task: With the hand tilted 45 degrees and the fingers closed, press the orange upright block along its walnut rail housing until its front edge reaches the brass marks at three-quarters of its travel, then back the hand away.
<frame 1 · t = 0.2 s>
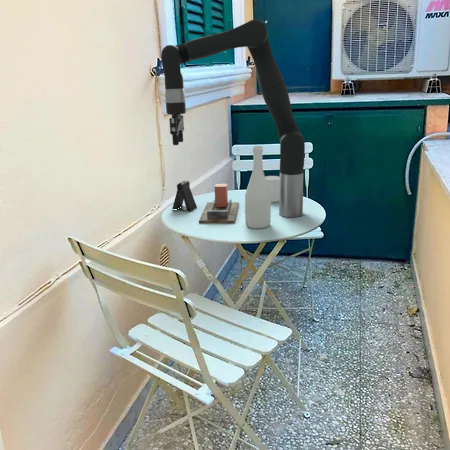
hand: (178, 143, 175), 29 cm above the table, tool pointing down, fingers open, 8 cm apart
black a-frame stand: (184, 209, 191), on the table
rail housing: (220, 213, 184), on the table
mug: (268, 200, 202), on the table
wine bottle: (257, 225, 169), on the table
orange upright block: (221, 195, 189), point 6 cm above the table, slide at 0.0 cm
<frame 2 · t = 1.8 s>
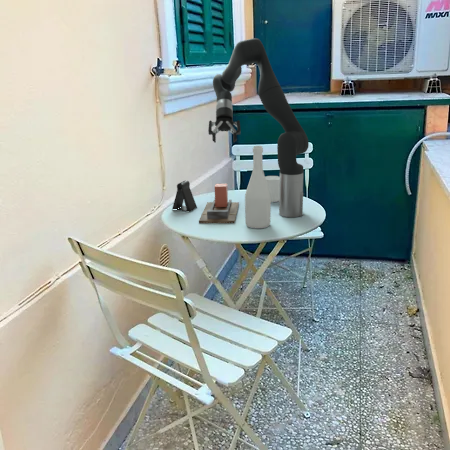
hand: (224, 141, 194), 27 cm above the table, tool tilted 45°, fingers open, 8 cm apart
nothing on the table moved.
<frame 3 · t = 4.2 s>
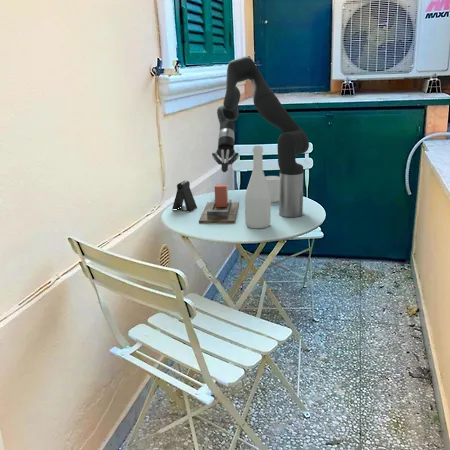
hand: (224, 171, 201), 13 cm above the table, tool tilted 45°, fingers closed
nothing on the table moved.
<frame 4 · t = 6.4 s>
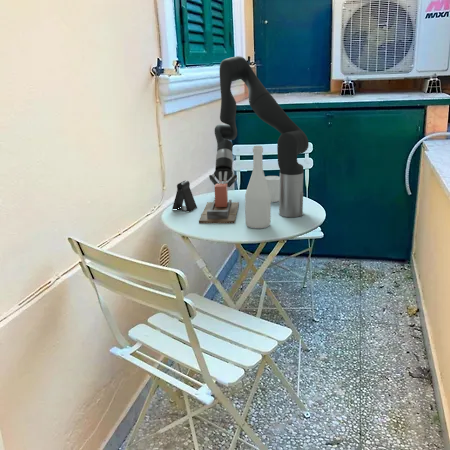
hand: (222, 194, 192), 5 cm above the table, tool tilted 45°, fingers closed
orange upright block: (221, 195, 189), point 6 cm above the table, slide at 0.0 cm, touching gripper
everything else where it was.
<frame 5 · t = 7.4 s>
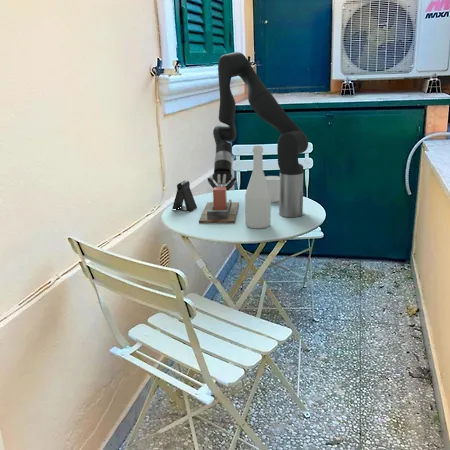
hand: (221, 198, 187), 5 cm above the table, tool tilted 45°, fingers closed
orange upright block: (220, 198, 183), point 6 cm above the table, slide at 5.7 cm, touching gripper
everything else where it was.
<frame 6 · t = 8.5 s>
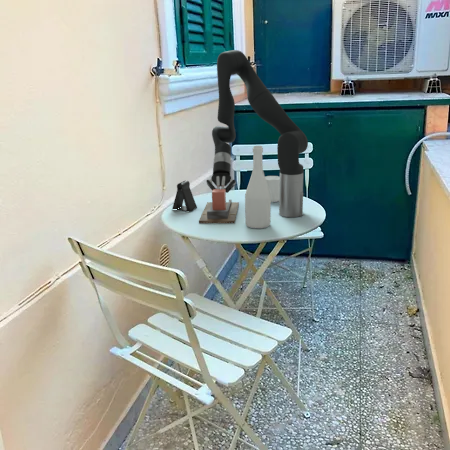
hand: (220, 200, 183), 5 cm above the table, tool tilted 45°, fingers closed
orange upright block: (219, 201, 180), point 6 cm above the table, slide at 9.5 cm, touching gripper
everything else where it was.
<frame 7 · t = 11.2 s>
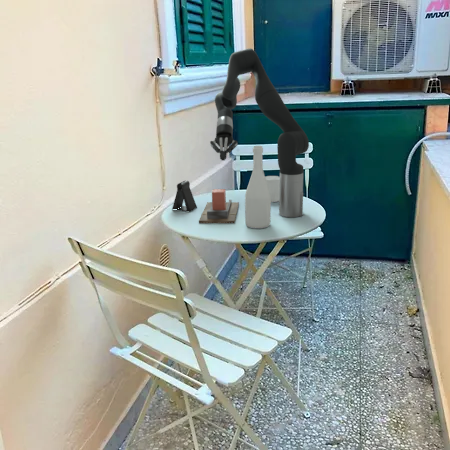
hand: (223, 159, 198), 19 cm above the table, tool tilted 45°, fingers closed
orange upright block: (219, 201, 180), point 6 cm above the table, slide at 9.5 cm
everything else where it was.
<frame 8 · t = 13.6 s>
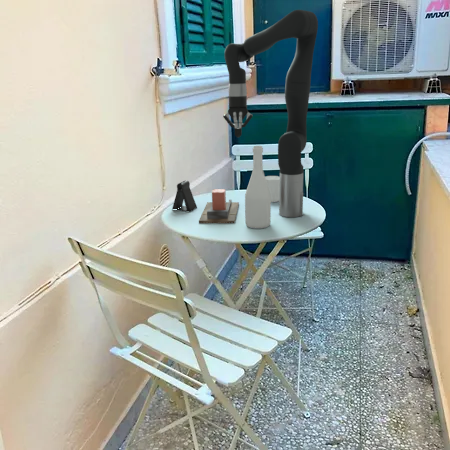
hand: (238, 137, 190), 29 cm above the table, tool pointing down, fingers closed
nothing on the table moved.
at the end: orange upright block slide at 9.5 cm; black a-frame stand moved 0.3 cm from its start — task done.
